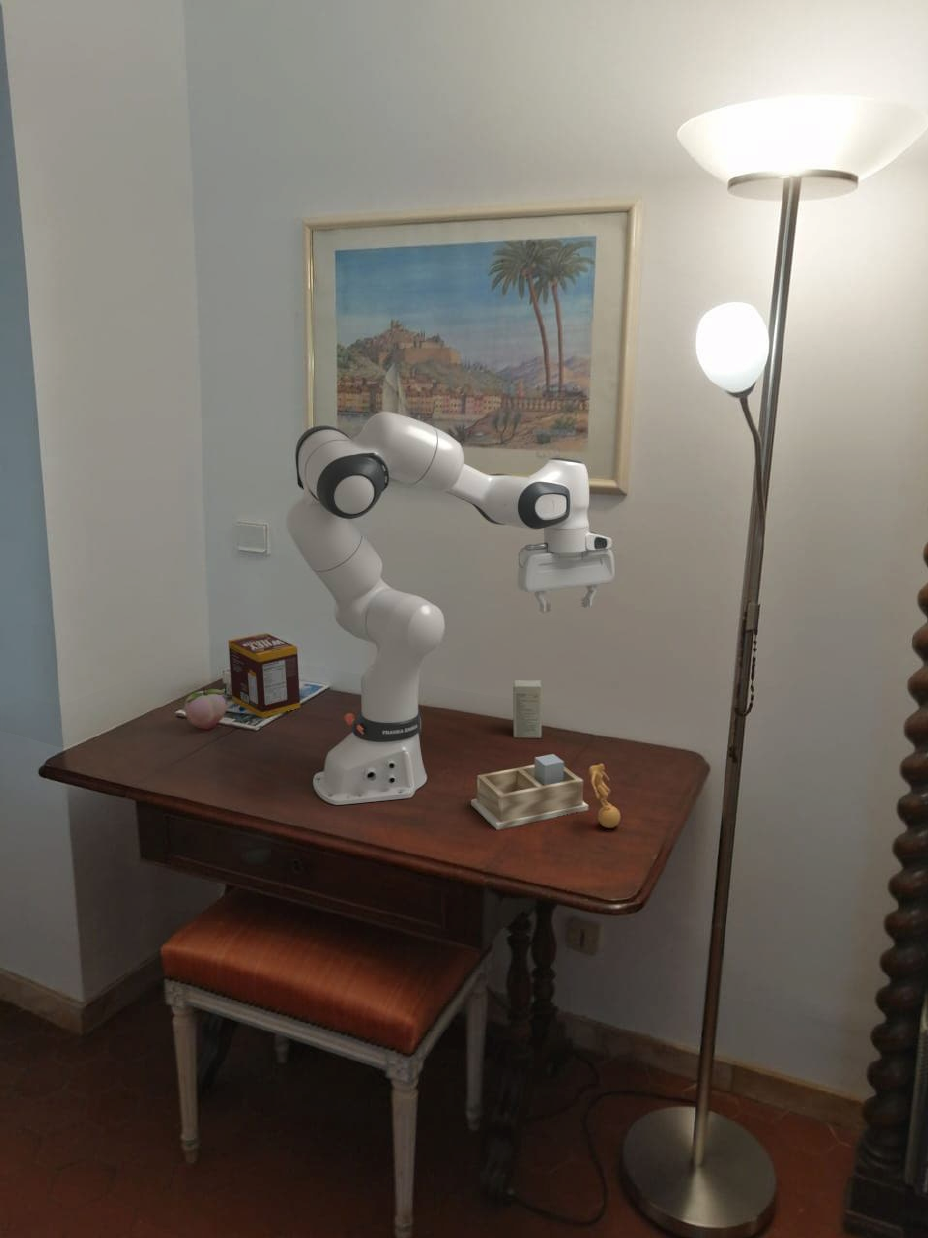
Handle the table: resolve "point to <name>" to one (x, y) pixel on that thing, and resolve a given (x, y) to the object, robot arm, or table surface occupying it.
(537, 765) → the grey peg
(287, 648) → the supplement box
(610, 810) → the figurine
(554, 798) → the wooden divided tray
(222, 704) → the decorative fruit
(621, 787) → the table surface
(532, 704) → the skincare box
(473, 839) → the table surface
